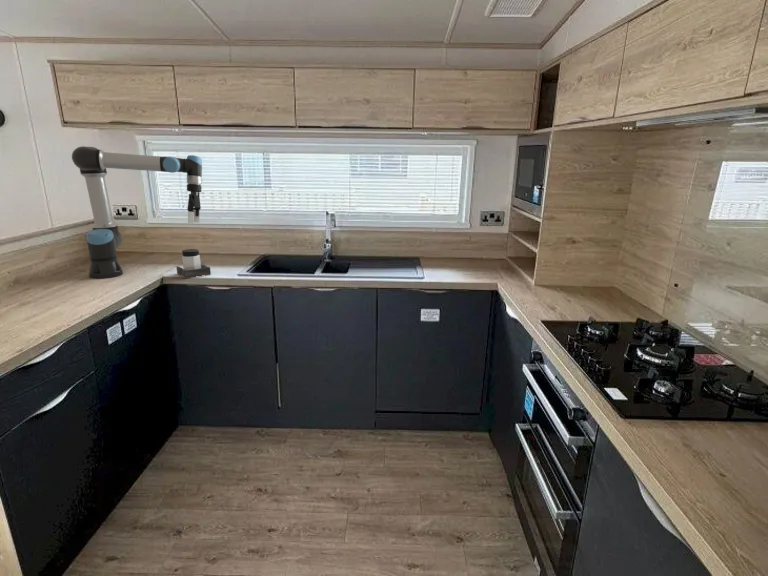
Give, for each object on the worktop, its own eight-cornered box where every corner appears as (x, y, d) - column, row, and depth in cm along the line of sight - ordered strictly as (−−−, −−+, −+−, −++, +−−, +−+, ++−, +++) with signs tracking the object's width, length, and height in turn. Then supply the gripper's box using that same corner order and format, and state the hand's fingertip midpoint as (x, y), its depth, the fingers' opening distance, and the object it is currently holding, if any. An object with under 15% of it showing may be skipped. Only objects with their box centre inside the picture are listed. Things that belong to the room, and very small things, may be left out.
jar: (203, 272, 231) (200, 250, 228) (187, 274, 226) (184, 252, 223) (198, 269, 238) (195, 248, 234) (182, 271, 233) (179, 249, 229)
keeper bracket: (177, 273, 232) (176, 266, 231) (201, 270, 241) (200, 263, 240) (186, 278, 223) (185, 271, 222) (210, 274, 232) (210, 267, 231)
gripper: (207, 183, 232) (206, 222, 233) (195, 187, 252) (195, 223, 253) (192, 181, 227) (191, 221, 229) (182, 185, 247) (181, 222, 249)
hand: (193, 222), depth 241 cm, fingers open, 13 cm apart
